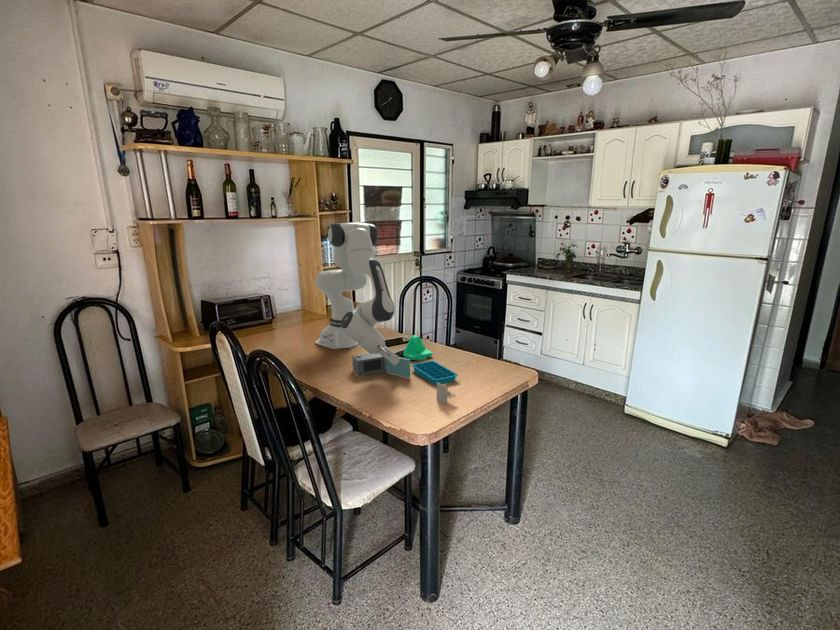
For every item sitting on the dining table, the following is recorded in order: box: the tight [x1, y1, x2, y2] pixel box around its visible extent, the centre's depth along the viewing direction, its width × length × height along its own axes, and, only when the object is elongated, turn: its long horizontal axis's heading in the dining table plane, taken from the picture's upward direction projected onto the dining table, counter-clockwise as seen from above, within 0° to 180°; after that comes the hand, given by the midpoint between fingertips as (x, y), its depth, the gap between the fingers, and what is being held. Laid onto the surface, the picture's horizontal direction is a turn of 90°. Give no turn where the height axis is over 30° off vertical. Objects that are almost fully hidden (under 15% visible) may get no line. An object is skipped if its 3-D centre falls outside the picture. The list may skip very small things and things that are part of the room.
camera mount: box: [402, 334, 433, 362], centre depth 207 cm, size 12×8×10 cm, turn 123°
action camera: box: [351, 352, 384, 377], centre depth 190 cm, size 15×7×8 cm, turn 117°
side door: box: [383, 356, 411, 379], centre depth 185 cm, size 13×1×8 cm, turn 58°
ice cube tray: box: [411, 360, 458, 386], centre depth 186 cm, size 12×20×3 cm, turn 30°
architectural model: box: [436, 382, 457, 406], centre depth 161 cm, size 3×7×7 cm, turn 40°
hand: (396, 362), depth 182 cm, fingers closed
